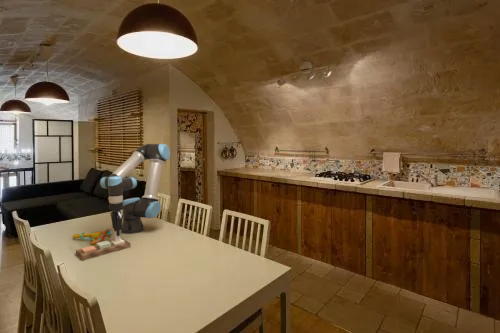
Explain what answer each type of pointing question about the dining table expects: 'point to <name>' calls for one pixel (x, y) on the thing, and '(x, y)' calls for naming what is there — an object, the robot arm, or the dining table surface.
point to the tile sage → (103, 244)
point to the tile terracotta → (88, 249)
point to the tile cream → (117, 242)
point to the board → (102, 251)
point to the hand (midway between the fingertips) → (117, 240)
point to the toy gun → (95, 236)
